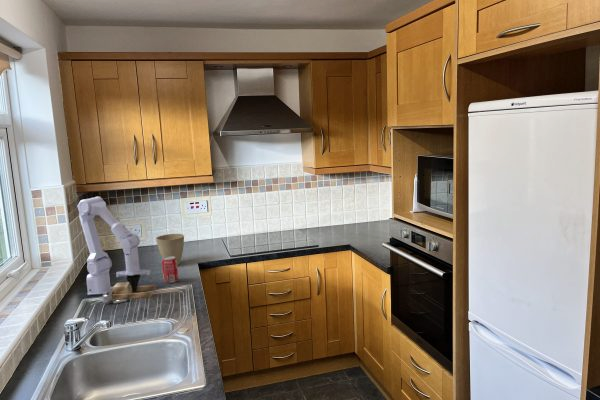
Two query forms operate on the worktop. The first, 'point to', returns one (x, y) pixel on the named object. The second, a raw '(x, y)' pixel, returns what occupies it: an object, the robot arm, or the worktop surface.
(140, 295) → the bay
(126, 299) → the crank handle
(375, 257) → the worktop surface
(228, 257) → the worktop surface
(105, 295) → the winch drum
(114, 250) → the worktop surface
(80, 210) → the robot arm
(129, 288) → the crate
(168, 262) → the soda can
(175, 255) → the plant pot
